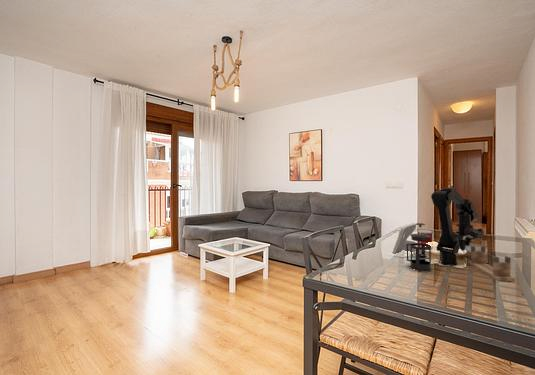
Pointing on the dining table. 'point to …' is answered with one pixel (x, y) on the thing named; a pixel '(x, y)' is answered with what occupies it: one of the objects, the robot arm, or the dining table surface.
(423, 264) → the french press
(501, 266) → the hook rack
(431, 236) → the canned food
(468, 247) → the steel bar
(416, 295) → the dining table surface
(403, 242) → the phone holder
